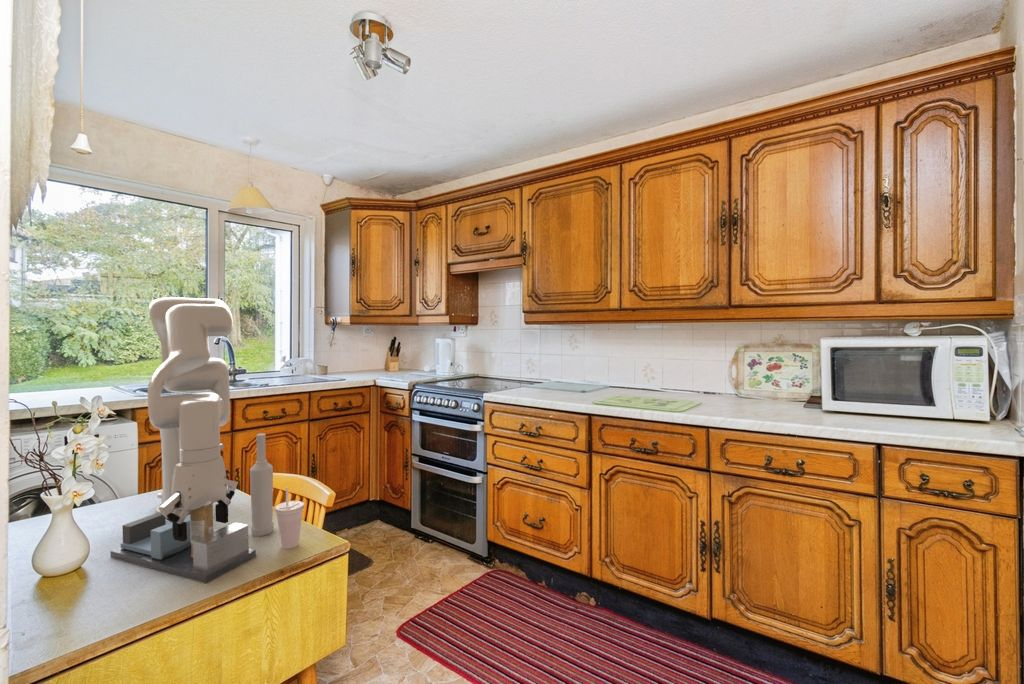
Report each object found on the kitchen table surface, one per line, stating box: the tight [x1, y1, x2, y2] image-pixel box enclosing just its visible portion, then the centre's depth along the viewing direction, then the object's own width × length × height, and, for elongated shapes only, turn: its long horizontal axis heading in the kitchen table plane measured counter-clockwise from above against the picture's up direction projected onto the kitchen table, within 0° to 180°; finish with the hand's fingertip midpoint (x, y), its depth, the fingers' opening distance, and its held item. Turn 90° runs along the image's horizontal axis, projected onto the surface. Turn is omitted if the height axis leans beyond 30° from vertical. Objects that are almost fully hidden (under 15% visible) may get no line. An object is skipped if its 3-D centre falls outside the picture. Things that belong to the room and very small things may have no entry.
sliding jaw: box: [120, 512, 191, 560], centre depth 111 cm, size 14×10×6 cm
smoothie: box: [274, 487, 305, 550], centre depth 114 cm, size 6×6×14 cm
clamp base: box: [109, 522, 257, 584], centre depth 108 cm, size 30×12×8 cm, turn 70°
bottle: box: [249, 433, 275, 537], centre depth 121 cm, size 5×5×25 cm
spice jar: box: [189, 501, 215, 558], centre depth 106 cm, size 5×5×14 cm
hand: (201, 530), depth 106 cm, fingers open, 9 cm apart
